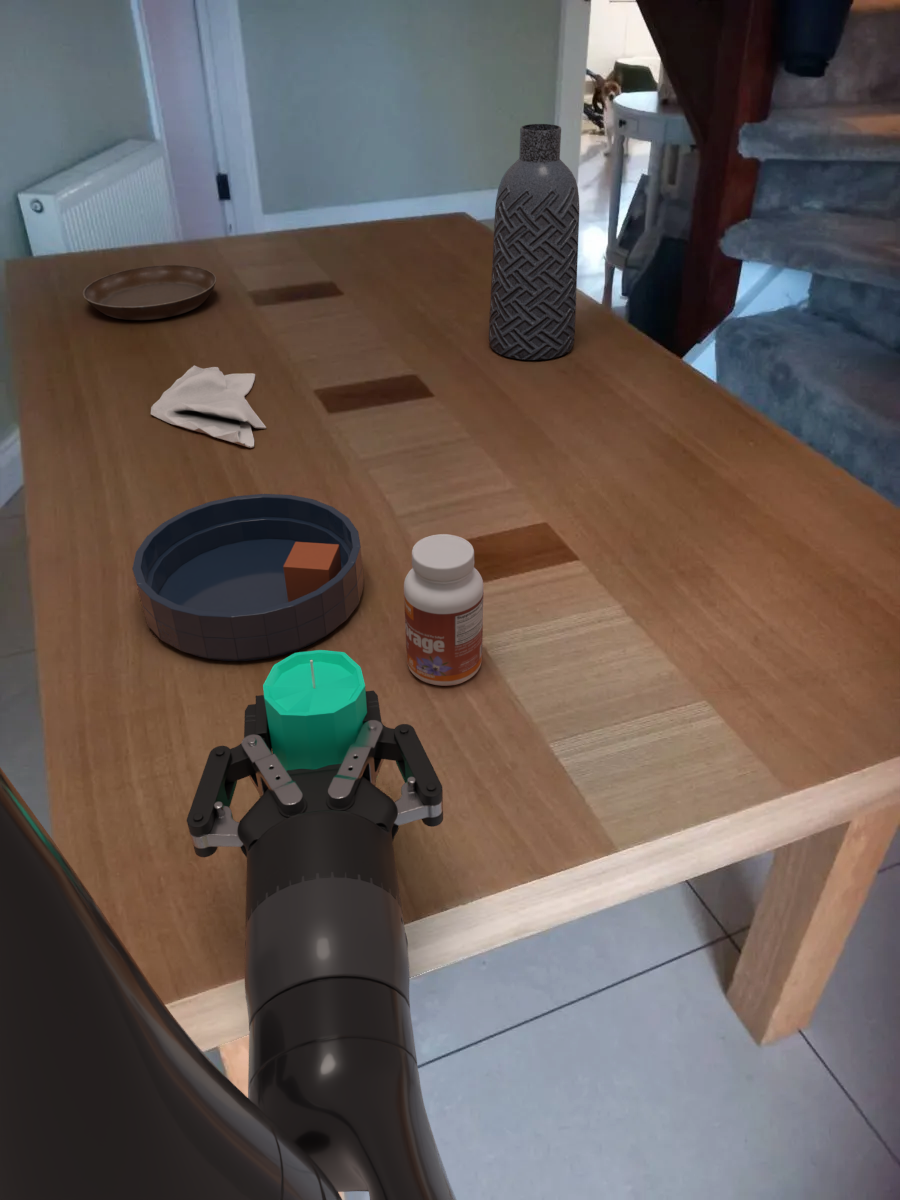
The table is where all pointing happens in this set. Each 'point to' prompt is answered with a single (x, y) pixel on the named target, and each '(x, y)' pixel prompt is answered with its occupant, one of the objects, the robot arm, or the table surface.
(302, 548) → the block
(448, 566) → the pill bottle
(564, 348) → the vase
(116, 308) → the plant saucer
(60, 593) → the table surface
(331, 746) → the candle
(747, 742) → the table surface
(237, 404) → the cloth
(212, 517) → the bowl
